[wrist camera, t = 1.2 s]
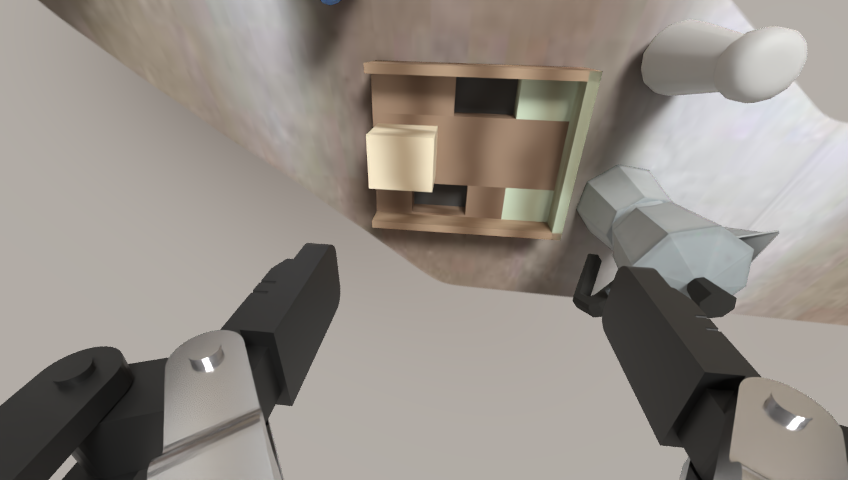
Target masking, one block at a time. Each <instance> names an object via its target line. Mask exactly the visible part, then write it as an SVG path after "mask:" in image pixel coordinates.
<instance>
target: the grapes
mask: <svg viewBox="0 0 848 480" xmlns="http://www.w3.org/2000/svg"><path fill="white" fill-rule="evenodd" d="M321 1H322V3H324V4H327V5H333V4H336V3H338V2H340V1H341V0H321Z"/></svg>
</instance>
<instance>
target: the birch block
mask: <svg viewBox="0 0 848 480" xmlns="http://www.w3.org/2000/svg"><path fill="white" fill-rule="evenodd" d="M437 131H438V126H424V125H403V124H381V123H378V124H377V125H376V126H375V127H374V128H373V129H372V130H370V131H369V132H368V133H367V134H366V144H367V162H368V181H369V189H385V190H402V191H419V192H432V190H433V185H434V180H435V175H436V154H437Z"/></svg>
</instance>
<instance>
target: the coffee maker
mask: <svg viewBox="0 0 848 480" xmlns="http://www.w3.org/2000/svg"><path fill="white" fill-rule="evenodd" d="M577 211H578V213H579V214H580V216H581V218H582V220H583V221H584V223H585V225H586V227H587V228H588V230H589V231H590V232H591V233H592V234H594V235H595V236H596V237H597V238H598V239H600V240H601V241H602V242H603V243H604V244H606V245H607V246H608V247H609V248H610V249H612V250H613V257H614V260H615V262H616V265H617V267H618V269H619V268H620V267H621V266H634V267H649V268H654V269H656V270H657V271H658V273H659V274H660V275H661V276H662V277H663V278H664V280H665V281H666V282H667V283H668V284H669V285H670V287H672V288H675V289H677V290H678V291H680V292H681V293H683V294H684V295H686V296H687V297H689V298H690V299H691V300H693V301H694V302H695V303H696V304H697V305H698V306H699V308H700V309H701V310H702V311H703V312H704V313H705V314H706V315H707V318H715V317H723V316H724V315H726V314H727V313H729V312H730V311H732V310H733V309H734V308H735V303H736V299H737V298H736V297H734V296H733V295H734V294H735V293H737V292H738V291H740V290H741V289H743V288H744V287H745V286H746V283H747V279H748V274H749V270H750V265H751V263H752V262H753V261H754V260H755V259H756V258H757V257H758V256H759V255H760V253H761V252H762V251H763V250H764V249H765V248H766V247H767V246H768V245H769V244H770V243H771V242H772V241H773V240H774V238H775V237H776V236H777V235H778V234H779V231H778V230H775V231H769V232H757V231H749V230H742V229H734V228H727V227H722V226H721V225H719V224H717V223H715V222H713V221H710V220H708V219H706V218H704V217H702V216H700V215H698V214H696V213H694V212H692V211H690V210H687V209H685V208H683V207H681V206H679V205H677V204H675V203H673V201H672V200H671V199H670V197H669V196H668V195H667V193H666V192H665V191H664V189H663V188H662V187H661V185H660V184H659V183H658V181H657V180H656V179H655V177H654V176H653V175H652V173H651V172H650V171H649V170H645V169H640V168H634V167H628V166H623V165H616V166H615V167H613V168H611V169H609V170H607V171H606V172H604V173H602V174H600V175H598V176H597V177H595V178H593V179H591V180H590V181H588V182H587V184H586V186H585V189H584V191H583V194H582V196H581V199H580V201H579V204H578V206H577ZM601 262H602V261H601V259H600V258H599V256H598V255H594V254H588V257H587V259H586V262H585V265H584V268H583V271H582V274H581V276H580V279H579V282H578V285H577V288H576V291H575V294H574V297H573V302H574V304H575V305H576V307H577V308H579V309H581V310H582V311H584V312H586V313H588V314H589V315H591V316H592V317H602V313H603V309H604V306H605V303H606V300H607V298H608V295H609V292H610V289H611V286H612V284H613V281H614V280H613V281H612V282H611V283H609V284H608V285H607V286H606V287H604V288H603V289H602V290H600V291H599V292H598V293H597V294H595V295H592V296H591V293H592V290H593V287H594V284H595V281H596V277H597V274H598V271H599V268H600V265H601Z"/></svg>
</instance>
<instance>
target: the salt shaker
mask: <svg viewBox="0 0 848 480" xmlns="http://www.w3.org/2000/svg"><path fill="white" fill-rule="evenodd" d="M806 59H807V43H806V40H805V39H804V38H803V37H802V35H801V34H800V33H799V32H798V31H797V30H792V29H788V28H783V27H777V26H771V27H766V28H761V29H757V30H754V31H750V32H747V33H746V34H743V33H740V32H737V31H733V30H730V29H727V28H724V27H720V26H717V25H714V24H711V23H707V22H703V21H698V20H692V19H689V20H686V21H682V22H678V23H674V24H671V25H669V26H668V27H667V28H666V29H664V30H663V31H662V32H661V33H659V34H658V35H657V36H655V37H654V39H653V40H652V42H651V43H650V45H649V46H648V48H647V49H646V50H645V52H644V53H643V60H642V65H641V72H642V77H643V81H644V83H645V84H646V85H647V86H648V87H649V88H650V89H651V90H652V91H654V92H655V93H658V94H663V95H668V96H674V95H687V94H700V93H712V92H720V93H721V94H722V95H723V96H724V97H725V98H727V99H730V100H734V101H738V102H743V103H755V102H759V101H763V100H767V99H771V98H772V97H774V96H775V95H777V94H779V93H780V92H782V91H784V90H785V89H787V88H788V87H789V86H790V84H791V83H792V82H793V81H794V80H795V79H796V77H798V75H799V74H800V72H801V70H802V68H803V66H804V63H805V61H806Z"/></svg>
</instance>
